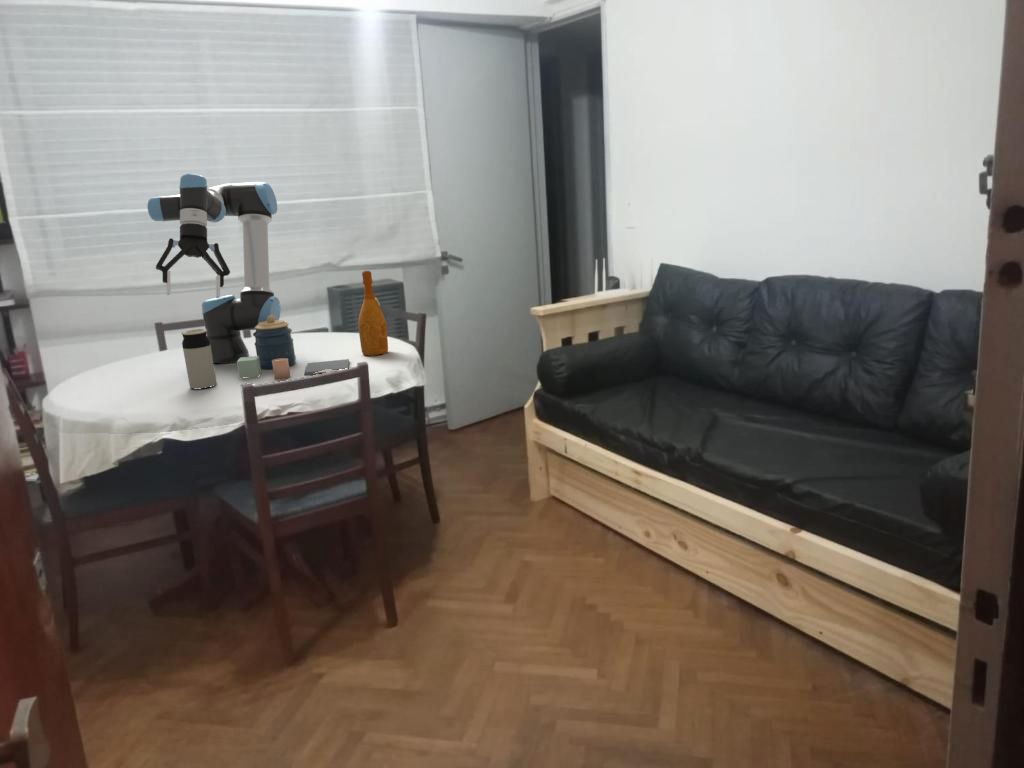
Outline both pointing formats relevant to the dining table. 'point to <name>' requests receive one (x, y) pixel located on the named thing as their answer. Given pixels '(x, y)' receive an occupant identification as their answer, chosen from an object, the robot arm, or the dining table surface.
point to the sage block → (249, 366)
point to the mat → (326, 366)
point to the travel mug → (198, 358)
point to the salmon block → (281, 368)
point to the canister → (273, 342)
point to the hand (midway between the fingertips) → (193, 295)
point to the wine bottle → (371, 322)
